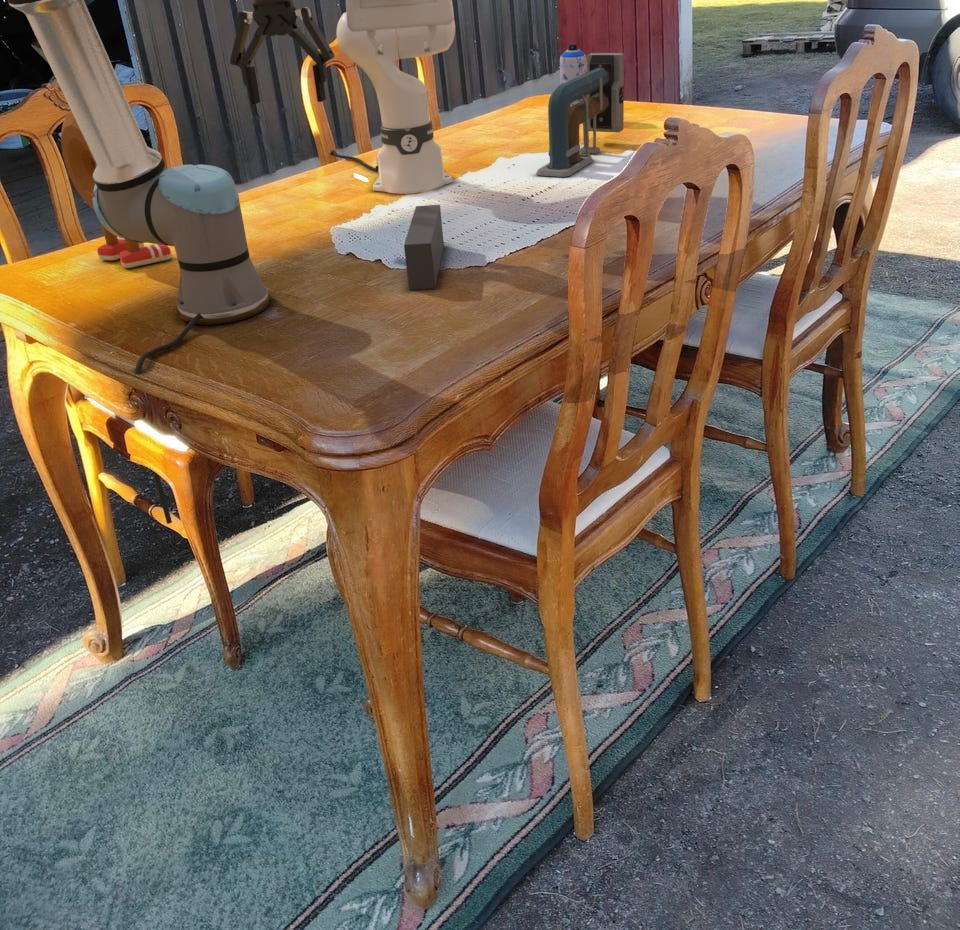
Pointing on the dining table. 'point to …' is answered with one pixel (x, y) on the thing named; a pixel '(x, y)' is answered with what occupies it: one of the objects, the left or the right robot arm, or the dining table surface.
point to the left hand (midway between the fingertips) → (288, 102)
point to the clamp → (584, 113)
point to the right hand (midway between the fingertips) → (404, 53)
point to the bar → (424, 247)
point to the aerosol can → (572, 66)
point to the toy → (81, 175)
